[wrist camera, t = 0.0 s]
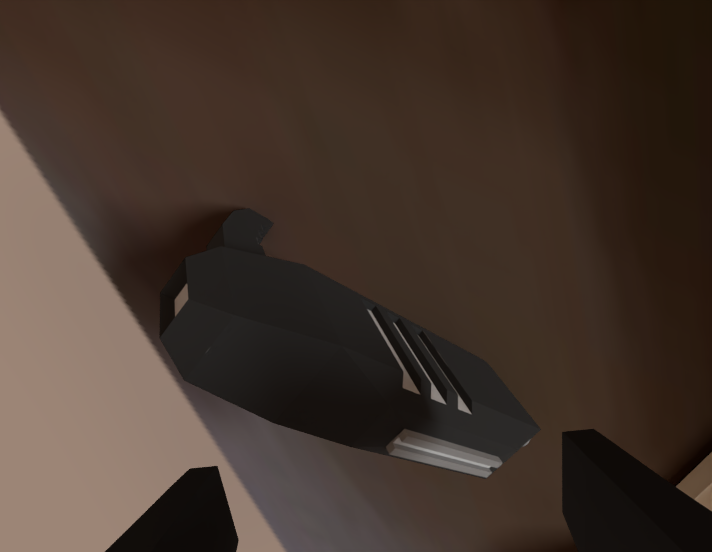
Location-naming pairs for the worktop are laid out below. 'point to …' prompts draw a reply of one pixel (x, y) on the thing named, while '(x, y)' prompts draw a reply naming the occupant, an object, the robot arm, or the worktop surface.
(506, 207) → the worktop surface
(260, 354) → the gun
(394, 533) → the worktop surface
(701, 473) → the board
